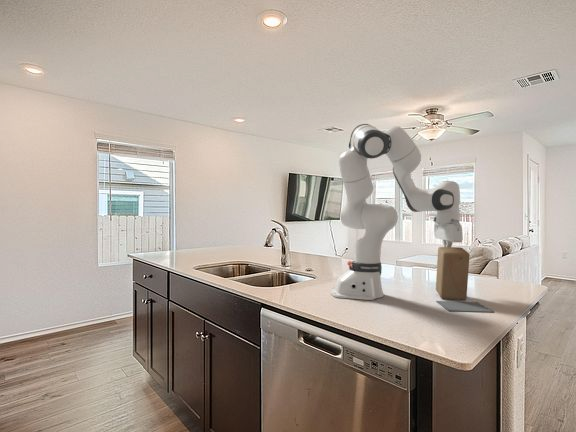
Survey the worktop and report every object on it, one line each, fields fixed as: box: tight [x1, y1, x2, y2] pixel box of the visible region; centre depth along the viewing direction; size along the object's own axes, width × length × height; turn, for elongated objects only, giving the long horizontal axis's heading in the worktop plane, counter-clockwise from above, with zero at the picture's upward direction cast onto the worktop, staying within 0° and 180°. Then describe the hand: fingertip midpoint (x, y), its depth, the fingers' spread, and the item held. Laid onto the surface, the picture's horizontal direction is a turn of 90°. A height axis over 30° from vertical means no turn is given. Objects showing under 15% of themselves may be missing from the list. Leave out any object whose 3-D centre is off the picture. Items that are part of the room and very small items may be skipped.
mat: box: [435, 300, 495, 314], centre depth 126 cm, size 16×12×1 cm
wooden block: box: [435, 246, 471, 301], centre depth 138 cm, size 10×10×20 cm
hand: (447, 250), depth 144 cm, fingers closed
